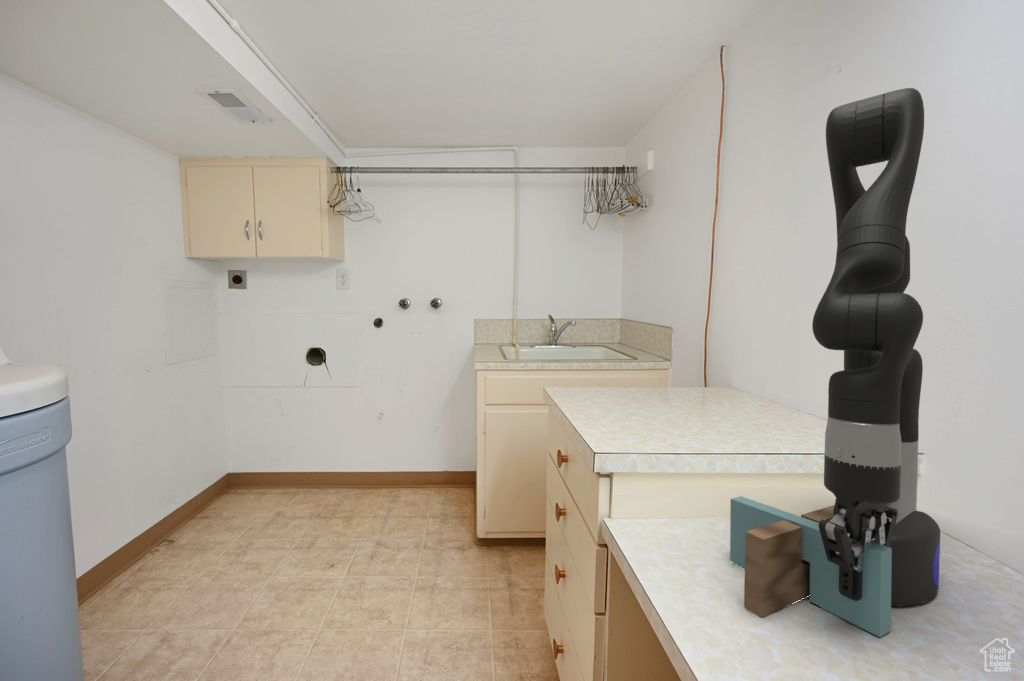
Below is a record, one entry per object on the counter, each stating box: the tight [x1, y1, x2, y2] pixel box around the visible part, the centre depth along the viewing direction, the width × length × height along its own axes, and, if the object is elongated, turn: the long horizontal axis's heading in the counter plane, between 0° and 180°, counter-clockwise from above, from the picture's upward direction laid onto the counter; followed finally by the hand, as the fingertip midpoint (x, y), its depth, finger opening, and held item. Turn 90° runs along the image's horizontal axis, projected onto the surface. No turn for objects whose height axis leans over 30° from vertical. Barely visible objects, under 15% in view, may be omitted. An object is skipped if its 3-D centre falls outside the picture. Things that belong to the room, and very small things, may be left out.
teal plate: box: [729, 496, 892, 638], centre depth 64 cm, size 2×20×10 cm, turn 27°
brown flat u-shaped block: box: [743, 504, 835, 619], centre depth 63 cm, size 20×2×10 cm, turn 117°
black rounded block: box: [890, 510, 941, 607], centre depth 64 cm, size 16×5×9 cm, turn 126°
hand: (857, 592), depth 57 cm, fingers open, 3 cm apart
